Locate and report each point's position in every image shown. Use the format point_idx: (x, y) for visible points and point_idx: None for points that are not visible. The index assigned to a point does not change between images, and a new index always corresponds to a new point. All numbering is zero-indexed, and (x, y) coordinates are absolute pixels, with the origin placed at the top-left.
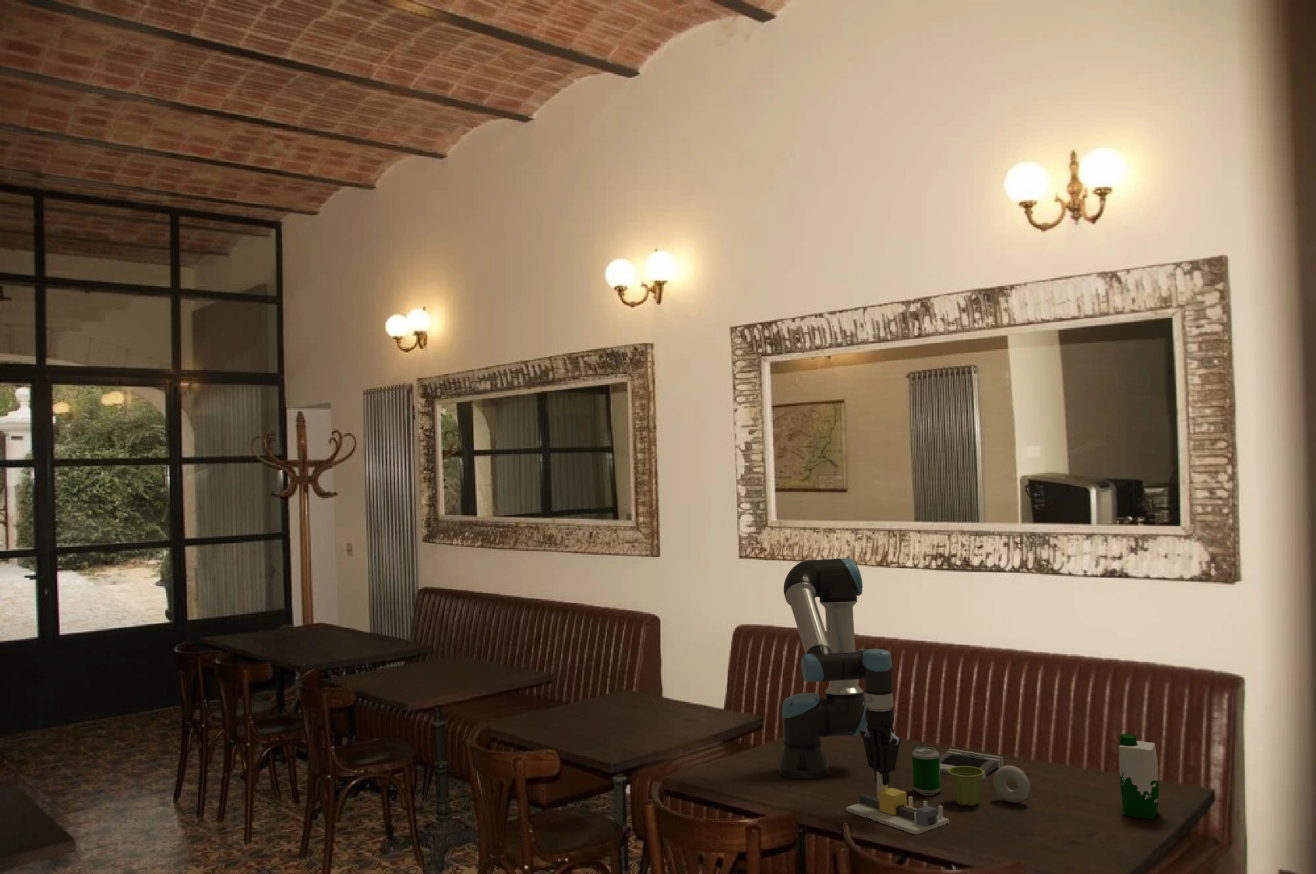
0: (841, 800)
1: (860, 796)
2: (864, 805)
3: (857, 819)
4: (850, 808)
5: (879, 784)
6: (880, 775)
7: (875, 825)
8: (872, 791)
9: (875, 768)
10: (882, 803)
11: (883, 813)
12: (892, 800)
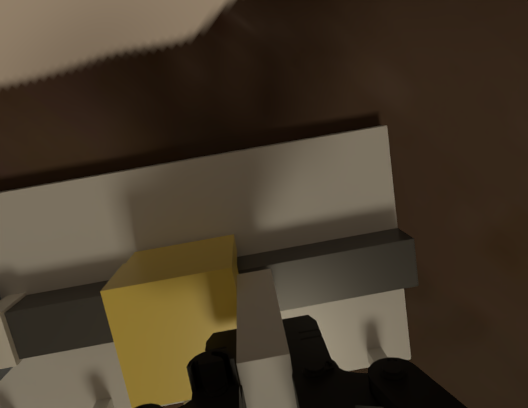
0: (516, 201)
1: (406, 239)
2: (353, 224)
3: (248, 96)
4: (357, 131)
5: (253, 310)
6: (236, 352)
7: (127, 121)
8: (519, 395)
9: (309, 376)
10: (206, 250)
11: (200, 232)
12: (114, 278)
